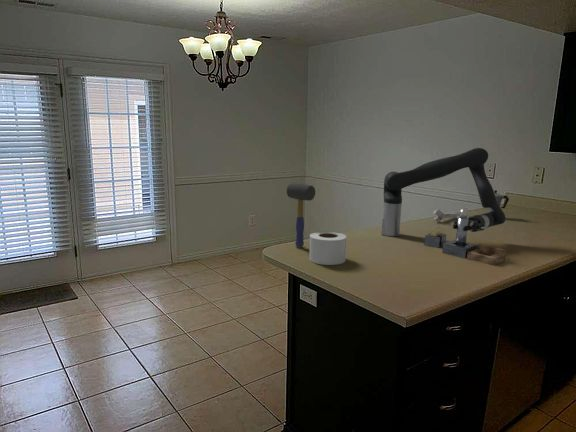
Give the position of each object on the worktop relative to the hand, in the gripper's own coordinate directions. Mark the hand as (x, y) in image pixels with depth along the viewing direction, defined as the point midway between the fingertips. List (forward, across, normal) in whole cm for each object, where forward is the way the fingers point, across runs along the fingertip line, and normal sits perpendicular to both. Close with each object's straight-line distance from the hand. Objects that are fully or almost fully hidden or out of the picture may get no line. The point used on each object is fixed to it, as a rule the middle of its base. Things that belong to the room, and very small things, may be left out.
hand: (459, 227), depth 195 cm
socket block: (-3, 0, +12) cm, 13 cm away
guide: (-7, -15, +12) cm, 21 cm away
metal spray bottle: (-3, 0, +10) cm, 10 cm away
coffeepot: (-97, -27, +13) cm, 101 cm away
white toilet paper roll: (+53, -30, +13) cm, 62 cm away
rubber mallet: (+49, -52, +13) cm, 73 cm away
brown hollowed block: (-3, +12, +12) cm, 17 cm away
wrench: (-65, -42, +13) cm, 79 cm away
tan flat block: (-10, -16, +12) cm, 22 cm away
